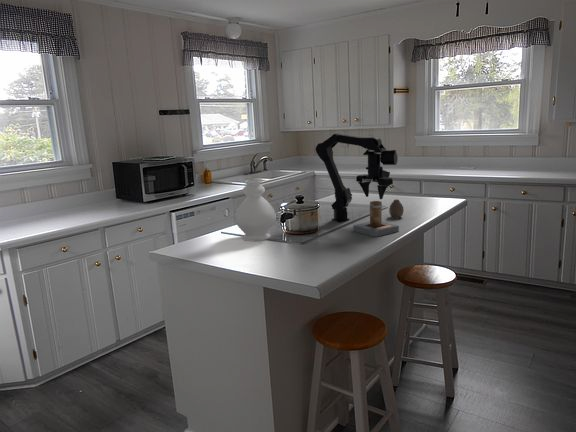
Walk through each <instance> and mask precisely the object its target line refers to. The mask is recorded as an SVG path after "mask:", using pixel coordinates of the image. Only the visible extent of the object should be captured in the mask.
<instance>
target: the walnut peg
mask: <svg viewBox="0 0 576 432" xmlns="http://www.w3.org/2000/svg"><path fill="white" fill-rule="evenodd" d="M382 202H383V201H380V200H372V201H369V222H370V227H373V228H378V227H381V222H383V220H382V210H383V209H382V206H383V204H382Z"/></svg>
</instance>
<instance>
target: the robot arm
mask: <svg viewBox="0 0 576 432" xmlns="http://www.w3.org/2000/svg"><path fill="white" fill-rule="evenodd" d="M338 143H340V144H345V145H346V144H347V145H353V146H359V147H362V149H365V151H364V152H363V153H362V154H363V156H367V166H366V167H365V169H366V170H367V174H360V175H359V174H358V175H356V178H355V180H356V182H357V183H358V184H359V186H360V187H361V189H362V192H363V194H365V195H364V196H365V197H366V198H367V197H369V195H370V194H369V193H370V185H371V183H373V182H374V183H377V184H378V185H377V186H376V187H377V192H378V197H379V200H383V198H384V195H385V193H386V190H387V188H388V187H391V185H393V184H394V181H393V178H392V177H390V174H391V173H390V171H387V170H384V167H383V166H397V164H398V161H399V160H398V153H397V150H396V149H392V150H391V149H386V148H385V146H384V144H383V141H382V139H381V138H380V137H379V136H369V137H368V136H367V137H364V136H363V137H362V136H356V135H347V134H343V133H342V134H341V133H334V134H332V135H331V136H330V137H328V138H327V139H326V140H324V141H322V142H320V143H318V144H316V146H315V152H316V154H317V157H319V159H320V160H321V161H322V162H323V164H324V166H325V169H326V171H327V173H328V176H329V178H330V180H331V183H332V186H333V188H334V198H335V201H334V202H333V203H332V204H331V206H330V207H332V208H331V209H332V210H333V218H331V221H334V222H339V223H342V222H346V221H350V218H348V207H349V204H351V202H352V200H353V197H352V196H353V194H352V193H351V189H350V187H347V188H346V187H345V185H344V183H343V181H342V178H341V176H340V173H339V170H338V168H337V165H336V163H335V160H334V151H333V148H334V147H335V146H337V144H338ZM381 164H382V165H383V166H381Z"/></svg>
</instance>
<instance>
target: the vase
mask: <svg viewBox="0 0 576 432" xmlns="http://www.w3.org/2000/svg"><path fill="white" fill-rule="evenodd" d="M388 212H389V215H390V217H391V218H393V219H400V218H401V217H403V215H404V206H403V204H402V203H401V201H400V199H397V198H396V199H393V201H392V203H391V204H389V208H388Z"/></svg>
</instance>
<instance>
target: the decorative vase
mask: <svg viewBox="0 0 576 432" xmlns="http://www.w3.org/2000/svg"><path fill="white" fill-rule="evenodd" d="M262 183H263V180H262V179H246V180H244V184H245V186H244V187H243V188H242V193H243V194H244V195H245V196H246V197H245V198H244V199H243V200H242V201H241V203H240V204H239V205H238V207H237V208H236V211H235V214H234V221H235V224H236V226H237V227H238V228H239V229H240V230H241V231H242V233H244V234H243V235H242V236H241V239H242V240H244V241H248V242H260V241H266V240H269V239H270V238H271V237H272V236H271V234H270V233H269V231H270V230H271V228H272V227H273V226H274V225H275V222H276V220H277V219H276V218H277V215H276V211H275V209H274V207H273V206H272V204H271V203H270V202H269V201H267V199H266V198H264V197H263V196H262V195H264V193H265V191H266V189H265V187H264V186H263V185H262Z"/></svg>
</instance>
